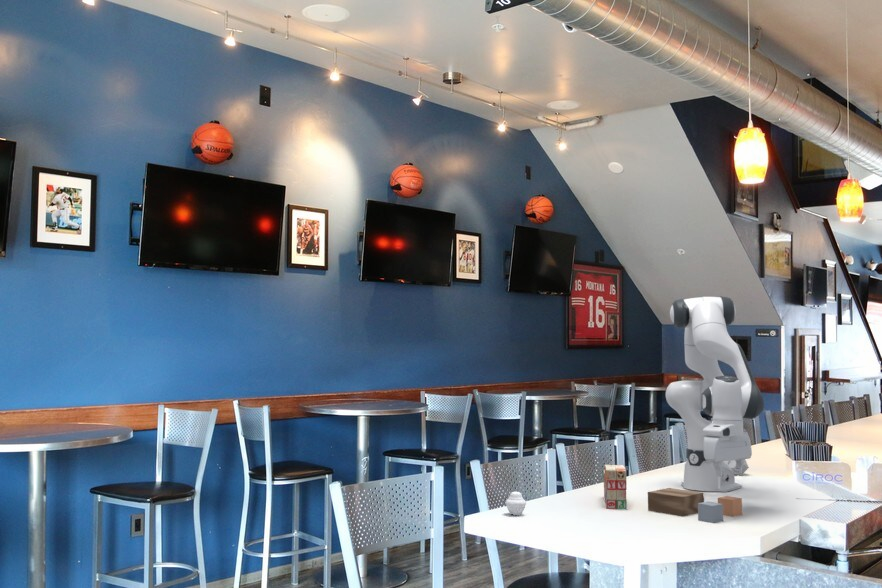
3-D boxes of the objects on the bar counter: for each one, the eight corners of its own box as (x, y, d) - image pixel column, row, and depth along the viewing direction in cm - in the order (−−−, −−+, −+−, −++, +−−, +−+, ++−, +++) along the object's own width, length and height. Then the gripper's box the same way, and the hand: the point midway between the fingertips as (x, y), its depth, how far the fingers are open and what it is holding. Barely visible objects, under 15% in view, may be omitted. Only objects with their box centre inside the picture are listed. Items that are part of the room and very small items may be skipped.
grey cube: (708, 518, 235) (707, 501, 235) (723, 521, 231) (722, 503, 231) (698, 520, 232) (697, 503, 232) (713, 523, 228) (712, 505, 228)
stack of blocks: (603, 497, 270) (603, 460, 271) (622, 498, 269) (621, 461, 270) (606, 509, 249) (606, 469, 250) (627, 510, 248) (626, 469, 249)
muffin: (523, 517, 235) (523, 493, 235) (503, 515, 237) (503, 492, 238) (528, 513, 241) (528, 490, 241) (508, 512, 243) (508, 488, 243)
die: (723, 474, 329) (717, 456, 325) (741, 463, 330) (735, 445, 326) (736, 484, 321) (730, 466, 317) (754, 473, 322) (748, 455, 318)
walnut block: (669, 506, 254) (669, 487, 255) (703, 512, 245) (703, 492, 246) (648, 511, 246) (647, 492, 247) (682, 517, 237) (682, 497, 238)
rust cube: (727, 512, 244) (727, 496, 245) (742, 515, 240) (741, 498, 241) (718, 514, 241) (717, 497, 242) (732, 517, 237) (732, 500, 238)
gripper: (738, 427, 251) (739, 471, 250) (699, 429, 239) (700, 476, 238) (756, 428, 246) (757, 474, 245) (717, 431, 234) (718, 478, 233)
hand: (729, 475), depth 241 cm, fingers open, 8 cm apart
